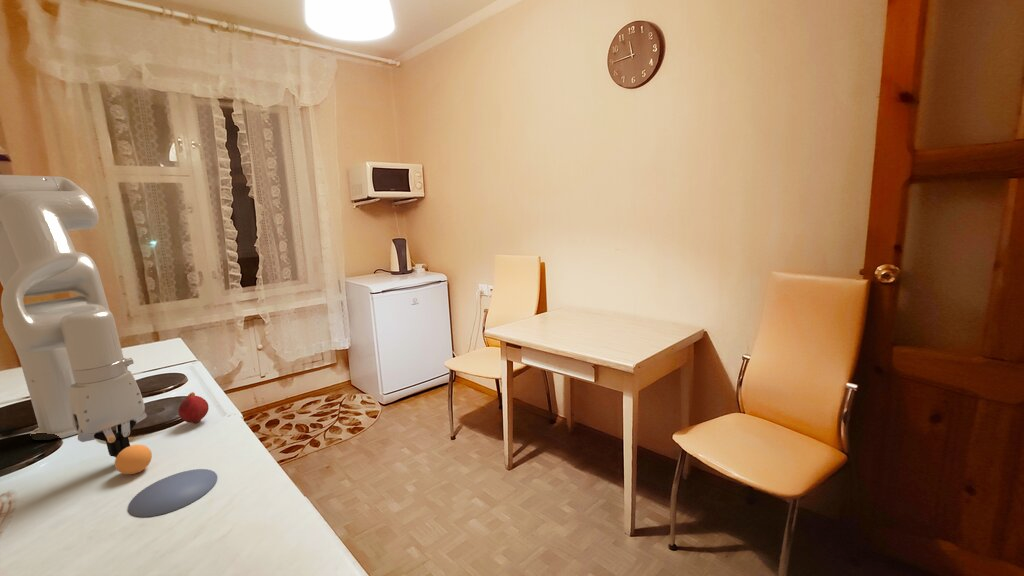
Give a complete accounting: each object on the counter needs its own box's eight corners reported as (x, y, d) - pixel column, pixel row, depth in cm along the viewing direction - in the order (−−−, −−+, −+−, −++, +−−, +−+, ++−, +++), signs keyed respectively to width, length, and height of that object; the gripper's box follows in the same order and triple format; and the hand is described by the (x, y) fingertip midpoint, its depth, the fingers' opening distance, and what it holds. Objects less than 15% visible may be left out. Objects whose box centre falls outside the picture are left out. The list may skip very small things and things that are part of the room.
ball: (119, 458, 81) (124, 484, 82) (154, 444, 85) (158, 468, 87) (107, 449, 83) (112, 474, 85) (142, 436, 88) (146, 459, 89)
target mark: (113, 504, 76) (113, 503, 76) (193, 463, 87) (193, 462, 87) (151, 526, 70) (151, 525, 70) (232, 479, 82) (231, 478, 81)
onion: (195, 430, 101) (189, 399, 99) (175, 428, 102) (168, 397, 101) (216, 418, 107) (210, 388, 105) (197, 416, 108) (191, 387, 106)
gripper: (136, 357, 93) (154, 434, 96) (39, 384, 80) (64, 472, 83) (154, 361, 90) (172, 441, 93) (56, 390, 76) (81, 481, 80)
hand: (121, 455), depth 88 cm, fingers closed
